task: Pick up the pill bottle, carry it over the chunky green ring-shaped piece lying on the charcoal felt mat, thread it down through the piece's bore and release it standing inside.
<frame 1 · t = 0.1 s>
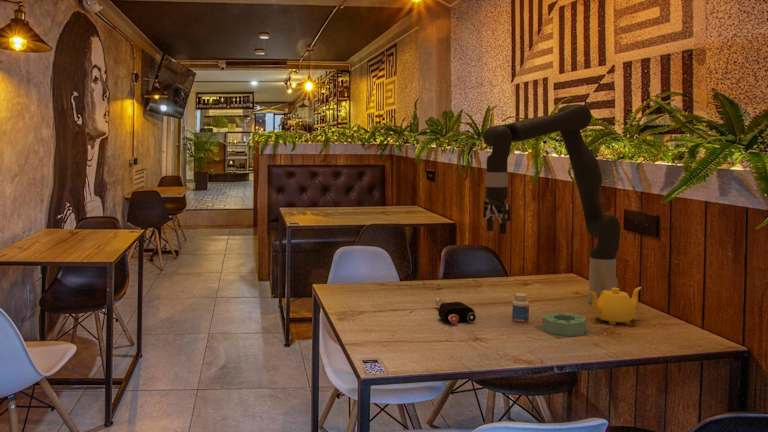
hand: (496, 232, 220), 29 cm above the table, fingers open, 8 cm apart
felt mat: (564, 331, 203), on the table
audio adapter: (449, 316, 223), on the table
teapot: (612, 321, 214), on the table
green ring-shaped piece: (564, 330, 203), resting on felt mat
pill bottle: (520, 323, 213), on the table
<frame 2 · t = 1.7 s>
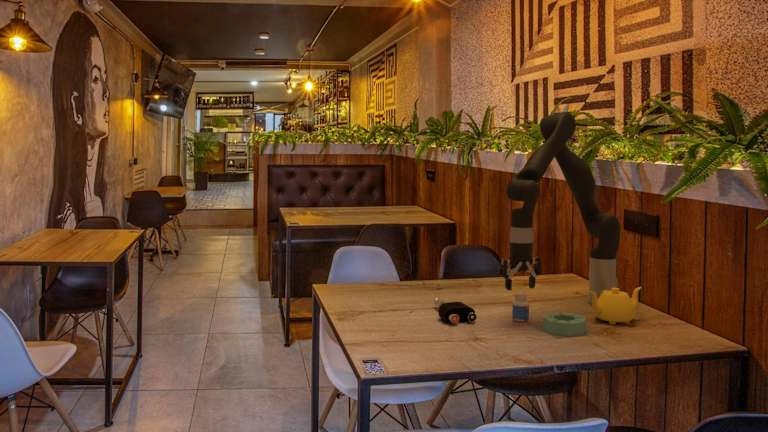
hand: (520, 289, 212), 12 cm above the table, fingers open, 8 cm apart
nothing on the table moved.
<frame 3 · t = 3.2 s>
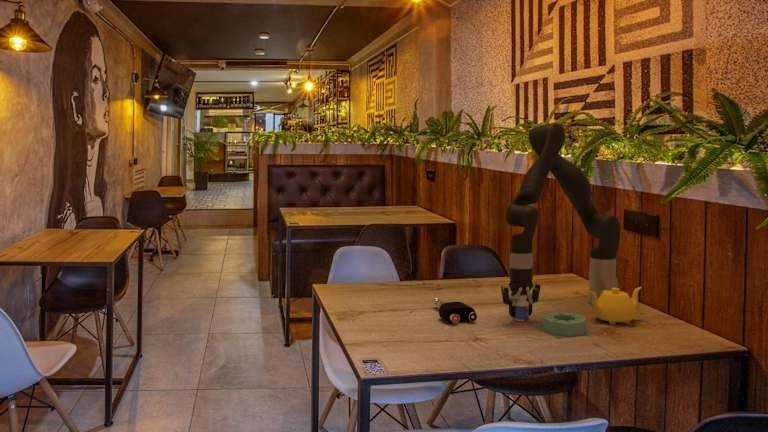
hand: (520, 315, 213), 3 cm above the table, fingers closed on pill bottle, 5 cm apart
pill bottle: (520, 323, 213), on the table, touching gripper
everything else where it was.
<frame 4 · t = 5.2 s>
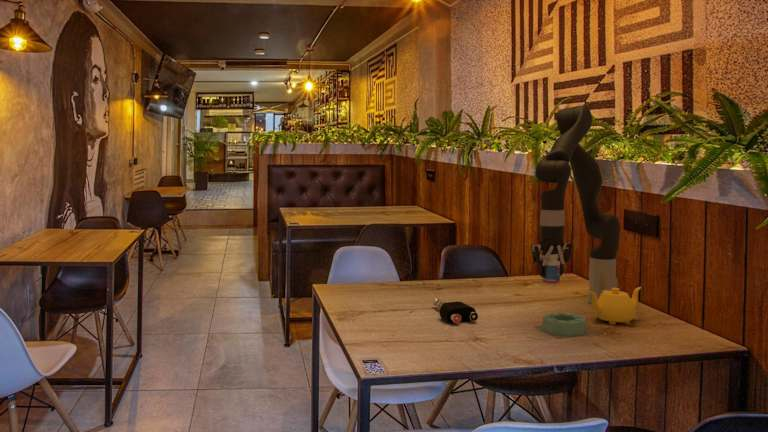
hand: (551, 275, 205), 17 cm above the table, fingers closed on pill bottle, 5 cm apart
pill bottle: (551, 284, 205), point 15 cm above the table, touching gripper
everything else where it was.
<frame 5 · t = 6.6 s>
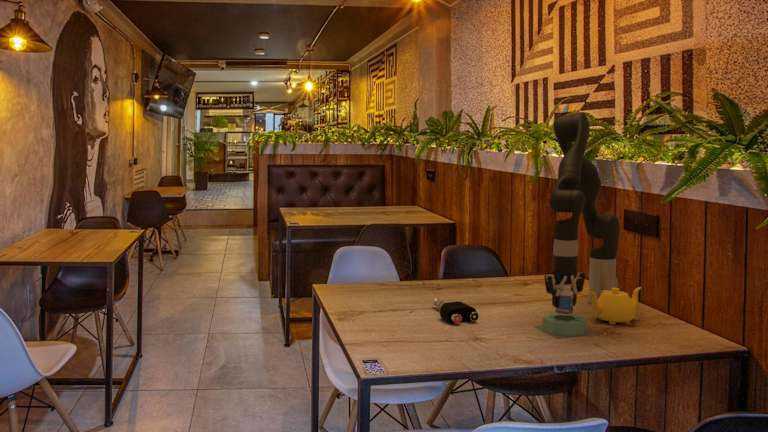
hand: (564, 305, 203), 8 cm above the table, fingers closed on pill bottle, 5 cm apart
pill bottle: (564, 314, 203), point 5 cm above the table, touching gripper
everything else where it was.
when the fingers open (5 cm above the table, at t = 7.6 s): pill bottle drops 2 cm, resting on felt mat.
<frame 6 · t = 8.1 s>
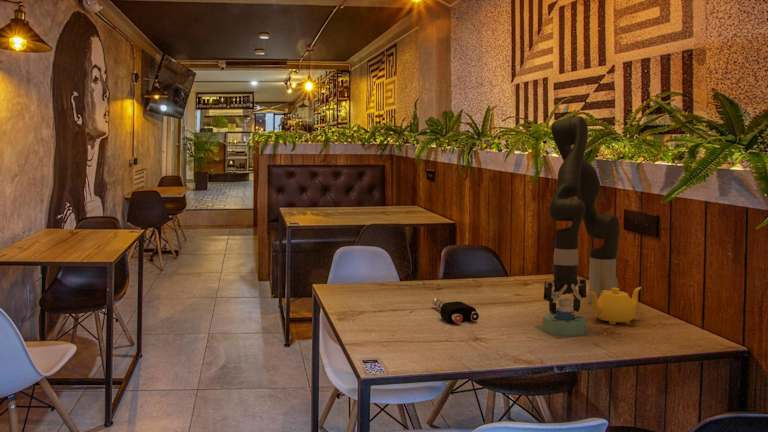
hand: (564, 312, 203), 6 cm above the table, fingers open, 8 cm apart
pill bottle: (564, 330, 204), resting on felt mat
everything else where it was.
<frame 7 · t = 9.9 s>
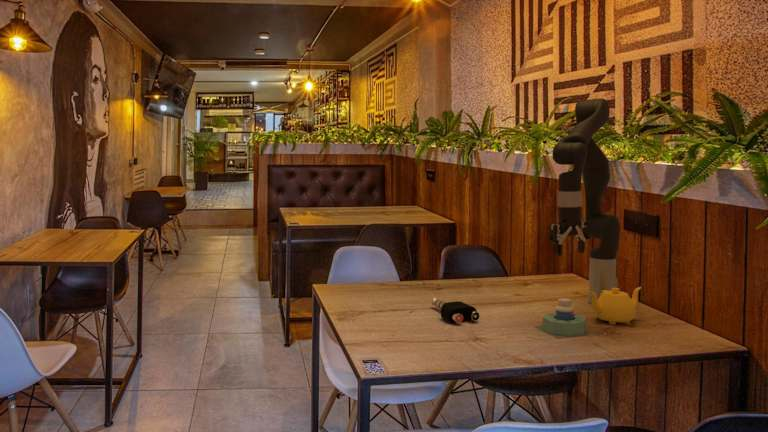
hand: (569, 254, 209), 23 cm above the table, fingers open, 8 cm apart
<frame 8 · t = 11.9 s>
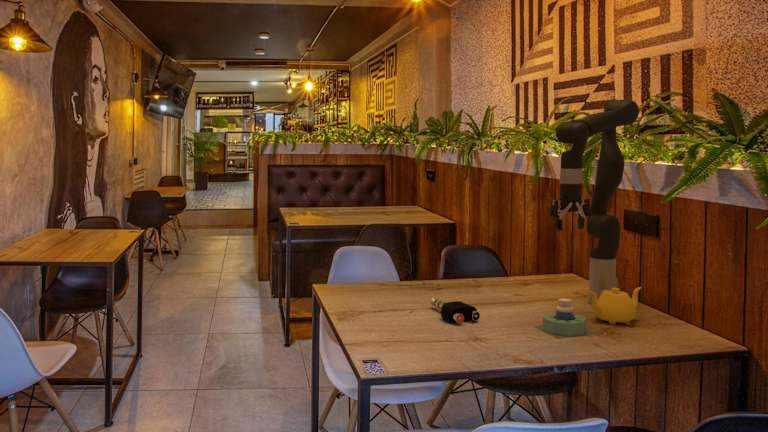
hand: (569, 229, 218), 30 cm above the table, fingers open, 8 cm apart
at the end: pill bottle 0.3 cm from the green ring-shaped piece (horizontally); pill bottle resting on felt mat; pill bottle tilted 1° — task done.
